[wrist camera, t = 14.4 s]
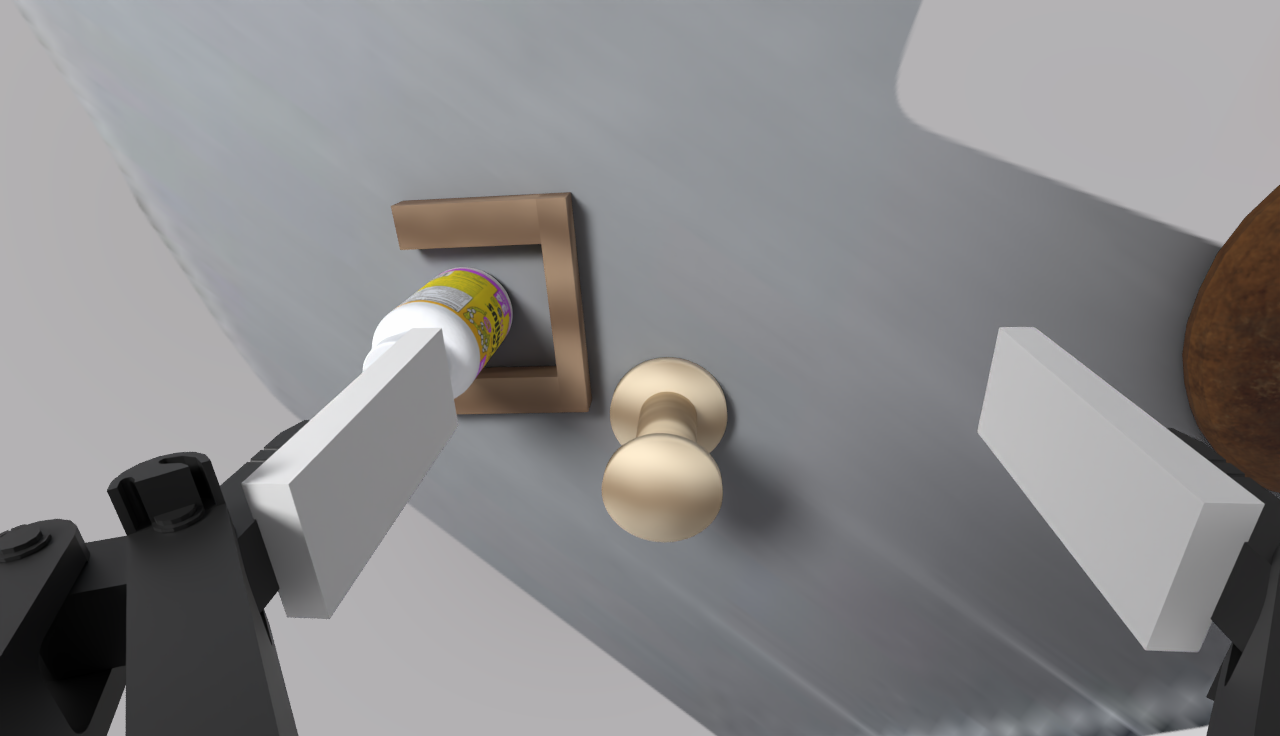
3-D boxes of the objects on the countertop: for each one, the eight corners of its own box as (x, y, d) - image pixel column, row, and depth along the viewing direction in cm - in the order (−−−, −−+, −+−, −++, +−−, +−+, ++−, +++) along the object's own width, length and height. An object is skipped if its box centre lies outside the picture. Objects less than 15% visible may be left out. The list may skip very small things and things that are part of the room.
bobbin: (607, 358, 50) (584, 432, 40) (726, 355, 49) (734, 430, 39) (616, 459, 53) (597, 550, 43) (727, 458, 52) (734, 551, 42)
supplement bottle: (506, 358, 50) (450, 444, 39) (423, 334, 50) (340, 414, 38) (522, 277, 48) (466, 344, 36) (434, 252, 47) (349, 311, 36)
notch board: (402, 200, 46) (390, 206, 44) (570, 192, 45) (565, 197, 43) (444, 402, 52) (435, 414, 51) (592, 399, 51) (588, 412, 49)
